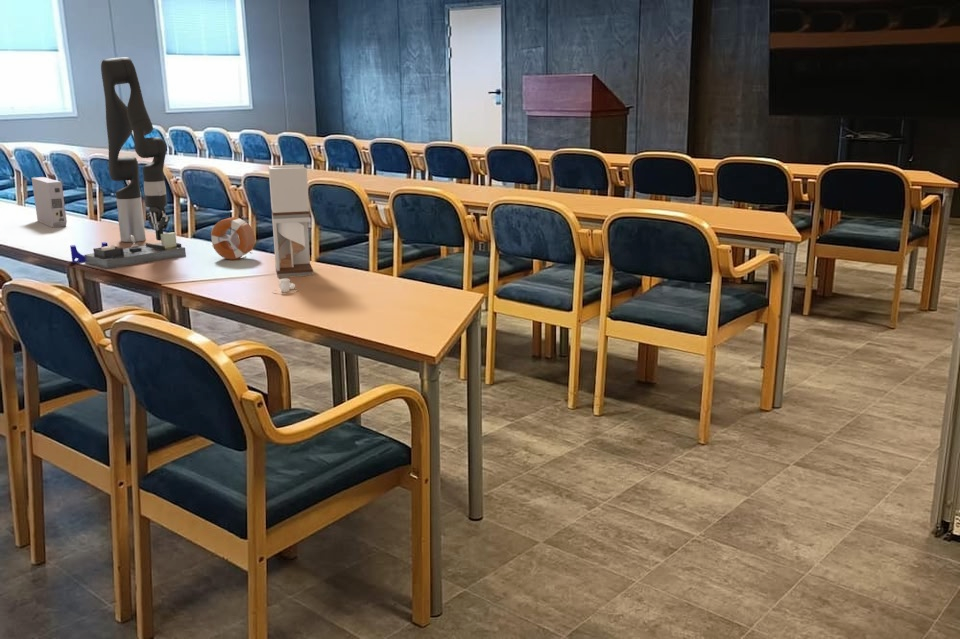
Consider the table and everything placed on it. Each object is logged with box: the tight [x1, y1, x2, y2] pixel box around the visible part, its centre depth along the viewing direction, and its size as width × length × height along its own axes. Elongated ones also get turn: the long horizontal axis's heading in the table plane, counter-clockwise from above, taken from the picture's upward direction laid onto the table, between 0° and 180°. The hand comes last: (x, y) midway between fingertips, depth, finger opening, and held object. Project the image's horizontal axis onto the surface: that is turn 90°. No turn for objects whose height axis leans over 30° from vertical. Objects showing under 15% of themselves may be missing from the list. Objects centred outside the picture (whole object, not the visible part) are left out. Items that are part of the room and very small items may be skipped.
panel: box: [84, 242, 187, 270], centre depth 320 cm, size 16×30×6 cm, turn 139°
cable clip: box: [69, 241, 109, 264], centre depth 320 cm, size 12×4×6 cm, turn 120°
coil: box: [210, 215, 256, 261], centre depth 318 cm, size 7×15×15 cm, turn 78°
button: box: [100, 245, 115, 250], centre depth 312 cm, size 4×4×3 cm
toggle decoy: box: [130, 235, 140, 248], centre depth 320 cm, size 1×2×5 cm, turn 139°
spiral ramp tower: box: [268, 164, 314, 278], centre depth 291 cm, size 11×11×35 cm
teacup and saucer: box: [278, 278, 296, 293], centre depth 271 cm, size 9×8×4 cm
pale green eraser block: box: [160, 231, 177, 248], centre depth 325 cm, size 2×5×5 cm, turn 139°
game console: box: [31, 176, 68, 228], centre depth 398 cm, size 6×27×20 cm, turn 40°
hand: (160, 240), depth 329 cm, fingers closed
